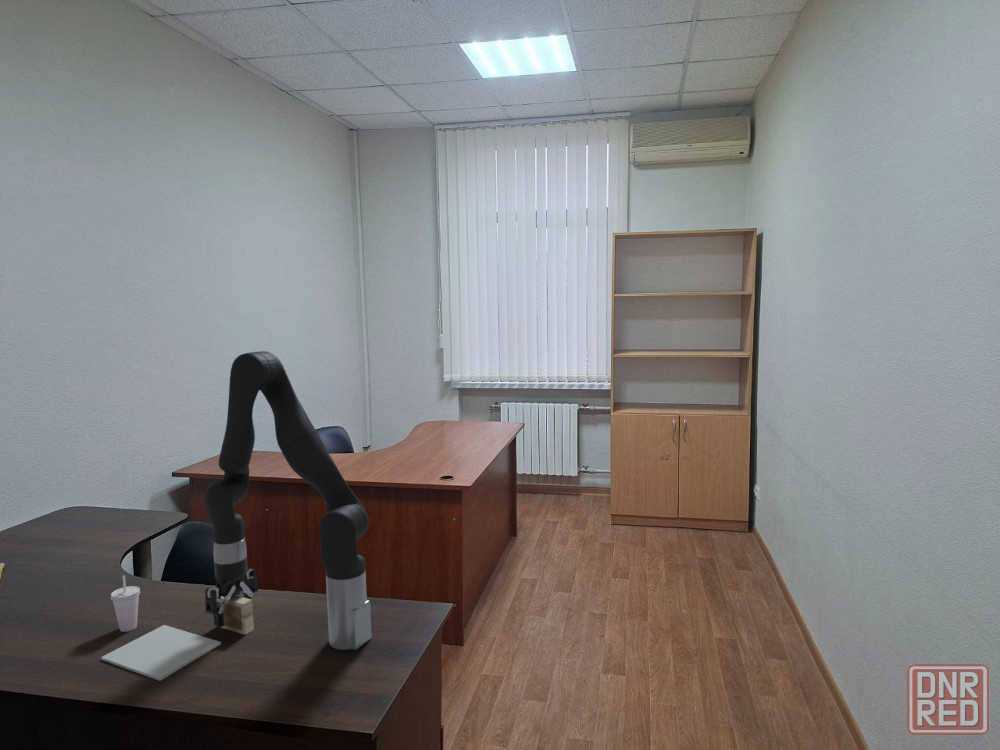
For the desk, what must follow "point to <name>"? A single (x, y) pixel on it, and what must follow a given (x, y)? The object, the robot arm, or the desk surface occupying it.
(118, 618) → the smoothie
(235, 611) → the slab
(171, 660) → the mat
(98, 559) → the desk surface
